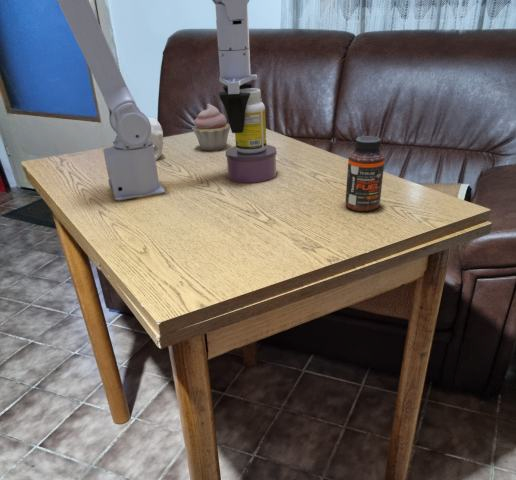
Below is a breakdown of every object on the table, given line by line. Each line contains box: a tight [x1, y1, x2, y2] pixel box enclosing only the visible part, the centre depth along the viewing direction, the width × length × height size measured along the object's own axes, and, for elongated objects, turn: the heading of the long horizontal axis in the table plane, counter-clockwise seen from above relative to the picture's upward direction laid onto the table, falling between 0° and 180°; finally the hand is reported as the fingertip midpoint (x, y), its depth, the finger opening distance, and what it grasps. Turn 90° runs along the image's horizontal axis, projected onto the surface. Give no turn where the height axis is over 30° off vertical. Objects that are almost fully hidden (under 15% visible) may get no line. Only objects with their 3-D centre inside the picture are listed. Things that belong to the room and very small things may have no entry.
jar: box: [225, 144, 278, 184], centre depth 105 cm, size 10×10×5 cm
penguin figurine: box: [147, 117, 164, 161], centre depth 118 cm, size 6×8×12 cm
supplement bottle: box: [345, 135, 385, 212], centre depth 86 cm, size 6×6×11 cm
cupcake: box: [191, 103, 231, 152], centre depth 123 cm, size 9×9×10 cm
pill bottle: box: [234, 87, 267, 154], centre depth 101 cm, size 6×6×11 cm
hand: (238, 127), depth 101 cm, fingers open, 7 cm apart
